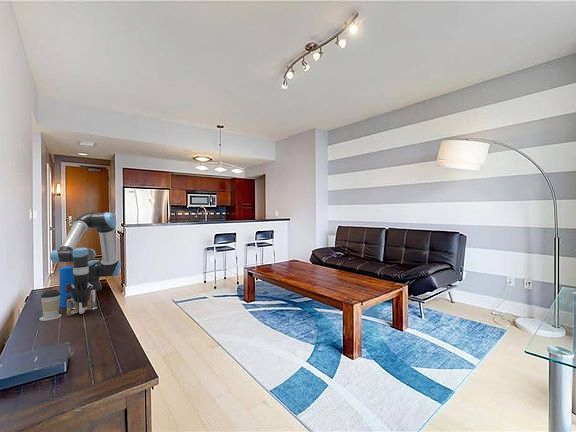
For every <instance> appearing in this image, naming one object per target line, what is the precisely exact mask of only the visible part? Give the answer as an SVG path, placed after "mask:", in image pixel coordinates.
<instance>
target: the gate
mask: <svg viewBox="0 0 576 432" xmlns="http://www.w3.org/2000/svg"><path fill="white" fill-rule="evenodd" d="M71 302H74V299H69V300H67V307H66V316H72V315H74V314H77V313H79V308H78V302H75V309H73V310H72V309H71ZM90 308H91V294H90V298H89V300H88V301H87V306H86V307H85V311H87V310H89V309H90Z"/></svg>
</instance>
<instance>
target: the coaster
mask: <svg viewBox="0 0 576 432" xmlns="http://www.w3.org/2000/svg"><path fill="white" fill-rule="evenodd" d="M61 317H62V314H61V313H59V314H58V316H57V317H55V318H50V319H44V318H43V316H41V317H39V321H41V322H44V321H45V322H47V321H48V322H49V321H53V320H56V319H59V318H61Z"/></svg>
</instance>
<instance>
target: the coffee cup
mask: <svg viewBox="0 0 576 432" xmlns="http://www.w3.org/2000/svg"><path fill="white" fill-rule="evenodd" d="M60 295H61V294H60V291H59V289H54V290H47V291H44V292H43V293H42V294H41V295H40V298H41V301H40V303H41V309H42V310H41V311H42V317H43V318H44V319H50V318H55V317H57V316H58V314H60Z"/></svg>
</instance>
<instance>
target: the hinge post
mask: <svg viewBox="0 0 576 432" xmlns="http://www.w3.org/2000/svg"><path fill="white" fill-rule="evenodd" d="M97 309H98V306H96V292H95V290H91V308H90V309H88V310H90V311H93V310H97Z"/></svg>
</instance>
